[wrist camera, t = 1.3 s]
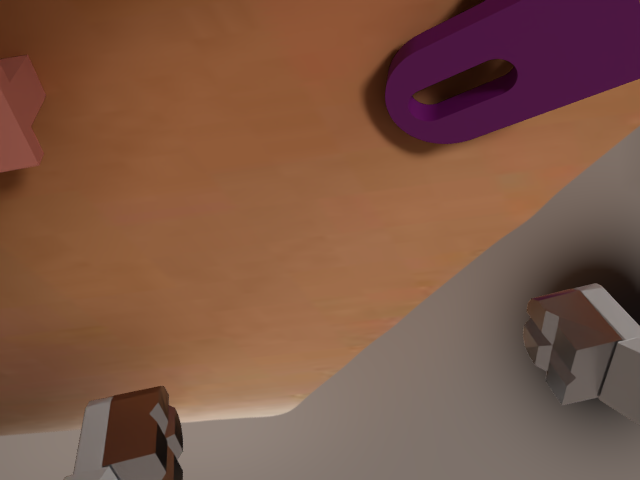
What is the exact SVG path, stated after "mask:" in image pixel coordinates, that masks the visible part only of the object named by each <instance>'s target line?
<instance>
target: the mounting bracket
mask: <svg viewBox="0 0 640 480" xmlns="http://www.w3.org/2000/svg"><path fill="white" fill-rule="evenodd" d="M492 59H503V60H506V61H509V62H510V63H512V64H513V65H514V67H513V69H512V70H511V71H510V72H509V73H508V74H506V75H504V76H502V77H500V78H498V79H495V80H493V81H490V82H488V83H485V84H483V85H481V86H478V87H476V88H473V89H471V90H469V91H466V92H464V93H461V94H459V95H457V96H454V97H452V98H449V99H447V100H445V101H442V102H440V103H437V104H433V105H426V104H422V103H419V102H418V101H416V100H415V99H414V98H413V97H412V95H413V94H414V93H416V92H417V91H419V90H422V89H424V88H426V87H428V86H431V85H433V84H435V83H438V82H440V81H442V80H444V79H447V78H449V77H451V76H454V75H456V74H458V73H460V72H463V71H465V70H467V69H470V68H472V67H474V66H476V65H479V64H481V63H483V62H485V61H488V60H492ZM637 79H640V3H639V0H485V1H484V2H482V3H480V4H478V5H476V6H474V7H472V8H470V9H468V10H467V11H465V12H463V13H461V14H459V15H457V16H455V17H453V18H451V19H449V20H447V21H445V22H443V23H441V24H439V25H437V26H435V27H433V28H431V29H429V30H427V31H425V32H423V33H421V34H419V35H417V36H415V37H414V38H412V39H411V40H409V41H408V42H407V43H406V44H404V45H403V46H402V47H401V49H400V50H399V51H398V52H397V53H396V55H395V56H394V58H393V60H392V62H391V65H390V68H389V71H388V77H387V84H386V91H385V102H386V107H387V110H388V112H389V114H390V116H391V118H392V119H393V121H394V122H395V123H396V124H397V126H398V127H400V128H401V129H402V130H403V131H404V132H406V133H407V134H409V135H411V136H413V137H415V138H417V139H420V140H423V141H426V142H431V143H438V144H452V143H459V142H464V141H468V140H471V139H474V138H477V137H479V136H482V135H485V134H488V133H490V132H493V131H496V130H499V129H501V128H504V127H507V126H510V125H512V124H515V123H518V122H521V121H524V120H526V119H529V118H532V117H535V116H537V115H540V114H543V113H546V112H548V111H551V110H554V109H557V108H560V107H562V106H565V105H568V104H571V103H573V102H576V101H579V100H582V99H584V98H587V97H590V96H593V95H596V94H598V93H601V92H604V91H607V90H609V89H612V88H615V87H618V86H620V85H623V84H626V83H629V82H632V81H634V80H637Z"/></svg>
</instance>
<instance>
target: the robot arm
mask: <svg viewBox="0 0 640 480" xmlns="http://www.w3.org/2000/svg"><path fill="white" fill-rule="evenodd" d="M527 313H528V314H529V315H530V317H531V318H530V319H529V320H528V321H527V322H526V324H525V325H524V331H523V338H524V343H525V348H526V350H527V352H528V354H529V357H530V358H531V360H532V361H533V363H534V364H535V365H536V366H538V367H540V368H541V369H543V370H545V371H547V375H546V382H547V384H548V385H549V387H550V388H551V390H552V391H553V393H554V394H555V396H556V397H557V399H558V400H559V402H560V403H561V405H566V404H570V403H575V402H580V401H584V400H588V399H593V398H597V397H599V400H601V401H602V402H604V403H605V404H607V405H609V406H610V407H611V408H613V409H615V410H616V411H618V412H619V413H621V414H622V415H624V416H625V417H627V418H629V419H630V420H632V421H633V422H635V423H636V424H638V425H639V426H640V326H639V325H638V324H637V323H636V322H635V321H634V320H633V319H632V318H631V317H630V316H629V315H628V313H626V311H625V310H624V309H623V308H622V307H621V306H620V305H619V304H618V303H617V302H616V301H615V300H614V299H613V298H612V297H611V296H610V295H609V293H608V292H607V291H606V290H605V289H604V288H603V287H602V286H600V285H598V284H591V285H587V286H583V287H578V288H575V289H568V290H564V291H560V292H556V293H553V294H548V295H544V296H540V297H536V298H532V299H531V300H530V301H529V302H528V306H527ZM182 452H183V436H182V428H181V423H180V420H179V416H178V414H177V411H176V409H175V408H174V407H172V406H169V394H168V393H167V391H166V389H165V387H164V386H158V387H153V388H148V389H144V390H139V391H134V392H129V393H124V394H120V395H115V396H111V397H106V398H102V399H97V400H93V401H89V403H88V405H87V407H86V408H85V412H84V418H83V423H82V429H81V434H80V440H79V445H78V450H77V456H76V461H75V467H74V472H73V475H70V476H67V477H65V478H64V480H183V470H182V468H181V466H180V464H179V462H178V460H177V459H178V458H179V457H180V455H181V453H182Z"/></svg>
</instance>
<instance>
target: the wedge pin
mask: <svg viewBox="0 0 640 480" xmlns="http://www.w3.org/2000/svg"><path fill="white" fill-rule="evenodd" d="M45 97H46V94H45V92H44V90H43V87H42V85H41V83H40V81H39V79H38V76H37V74H36V72H35V70H34V67H33V65H32V63H31V61H30V59H29V56H28V55H23V56H17V57H11V58H5V59H0V172H6V171H11V170H16V169H22V168H27V167H33V166H38V165H40V162H41V160H42V157H43V155H44V152H43V150H42V148H41V146H40V144H39V142H38V140H37V138H36V136H35V134H34V132H33V130H32V128H31V126H32V124H33V122H34V120H35V118H36V116H37V113H38V111H39V109H40V107H41V105H42V103H43V101H44V99H45Z"/></svg>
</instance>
